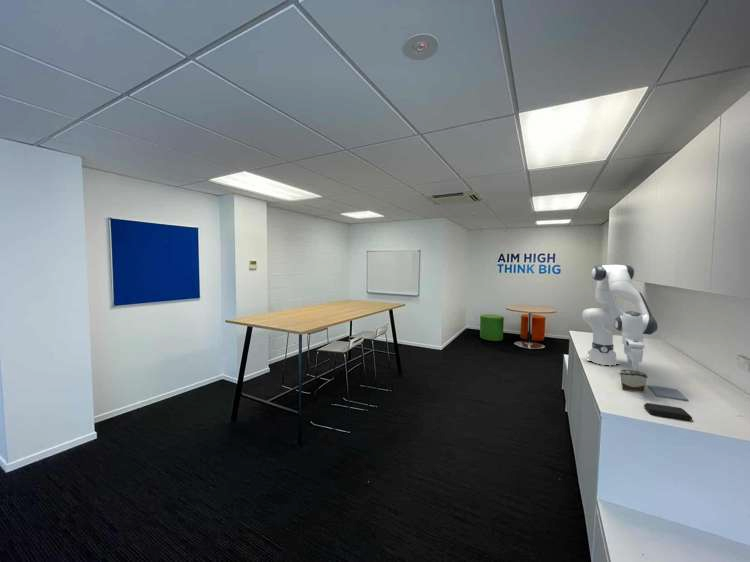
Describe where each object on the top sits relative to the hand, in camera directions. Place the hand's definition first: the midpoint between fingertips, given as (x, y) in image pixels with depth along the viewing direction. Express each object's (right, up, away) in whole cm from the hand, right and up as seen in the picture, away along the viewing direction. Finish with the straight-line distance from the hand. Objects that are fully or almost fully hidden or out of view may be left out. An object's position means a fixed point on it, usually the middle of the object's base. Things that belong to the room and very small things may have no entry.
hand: (632, 366), depth 163 cm
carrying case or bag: (-7, -15, -27) cm, 31 cm away
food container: (0, -13, +1) cm, 13 cm away
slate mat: (+14, -13, -6) cm, 20 cm away
